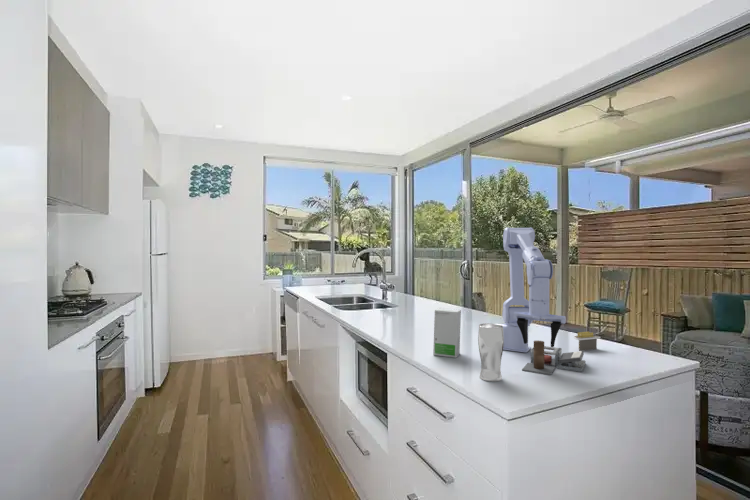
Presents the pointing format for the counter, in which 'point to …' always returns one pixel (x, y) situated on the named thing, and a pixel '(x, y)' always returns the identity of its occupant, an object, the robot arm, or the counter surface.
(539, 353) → the brown cylinder
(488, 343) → the beer glass
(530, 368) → the mat
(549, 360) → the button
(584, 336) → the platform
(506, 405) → the counter surface
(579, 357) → the rocker
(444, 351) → the skincare box
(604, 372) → the counter surface
